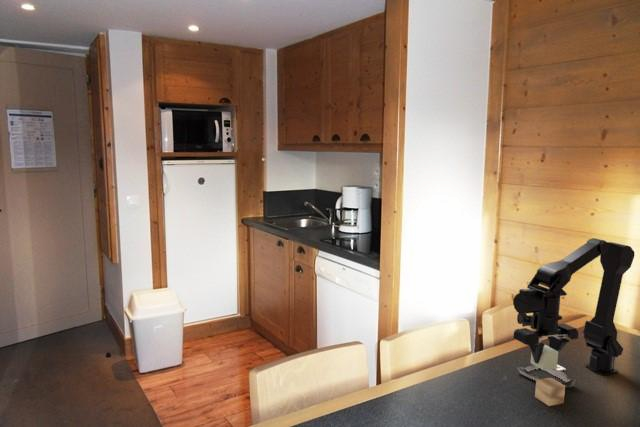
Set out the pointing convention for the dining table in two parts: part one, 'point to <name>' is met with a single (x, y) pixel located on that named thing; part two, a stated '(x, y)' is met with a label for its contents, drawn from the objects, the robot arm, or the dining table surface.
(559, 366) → the card
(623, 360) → the dining table surface
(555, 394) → the honey block
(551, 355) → the sage block
